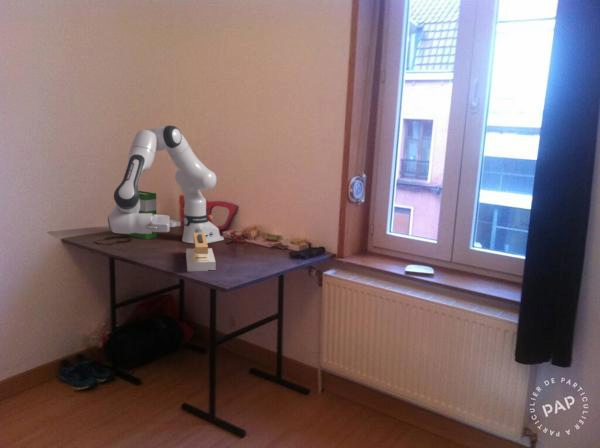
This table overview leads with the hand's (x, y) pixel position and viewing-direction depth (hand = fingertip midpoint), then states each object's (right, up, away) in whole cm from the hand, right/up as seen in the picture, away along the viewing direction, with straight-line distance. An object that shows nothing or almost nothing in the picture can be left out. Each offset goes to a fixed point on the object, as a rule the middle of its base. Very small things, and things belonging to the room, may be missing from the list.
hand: (180, 223), depth 229 cm
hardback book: (-35, -7, +57) cm, 67 cm away
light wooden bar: (+7, -10, +7) cm, 14 cm away
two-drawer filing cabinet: (+6, -18, +11) cm, 22 cm away
